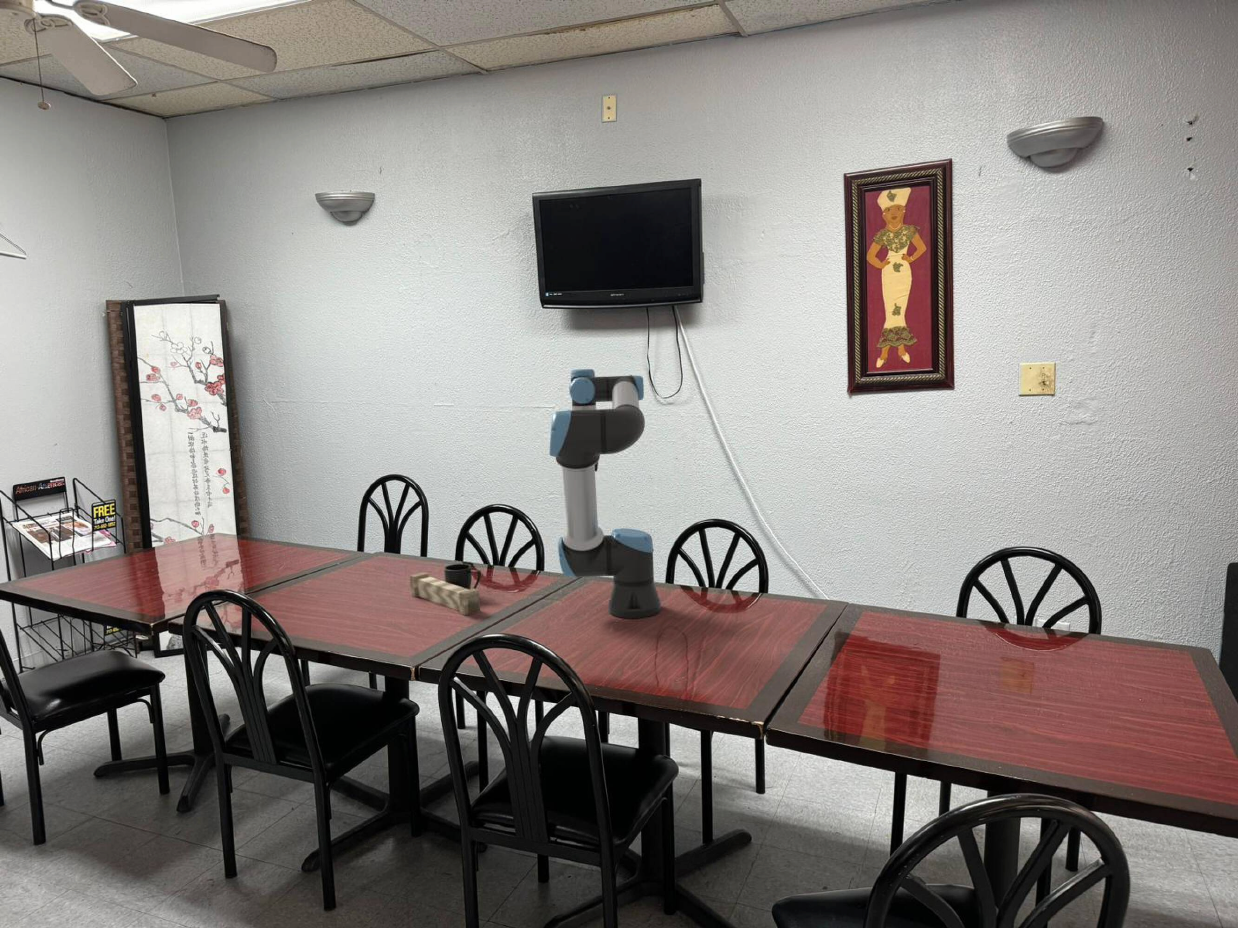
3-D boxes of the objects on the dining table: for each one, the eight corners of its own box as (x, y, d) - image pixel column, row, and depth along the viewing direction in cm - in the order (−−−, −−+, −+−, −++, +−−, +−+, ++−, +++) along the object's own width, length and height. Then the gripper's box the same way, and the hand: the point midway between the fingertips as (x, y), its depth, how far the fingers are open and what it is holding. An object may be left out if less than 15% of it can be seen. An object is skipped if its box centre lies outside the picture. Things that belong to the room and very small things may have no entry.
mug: (474, 602, 267) (472, 572, 265) (440, 599, 271) (438, 569, 270) (488, 595, 274) (486, 565, 273) (455, 592, 279) (453, 562, 277)
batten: (480, 611, 259) (478, 589, 258) (465, 615, 255) (463, 593, 254) (425, 591, 280) (424, 572, 279) (411, 595, 277) (409, 575, 276)
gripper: (607, 418, 273) (610, 493, 276) (579, 416, 282) (582, 489, 286) (589, 421, 268) (592, 497, 271) (561, 419, 277) (565, 493, 281)
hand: (587, 493), depth 279 cm, fingers closed
